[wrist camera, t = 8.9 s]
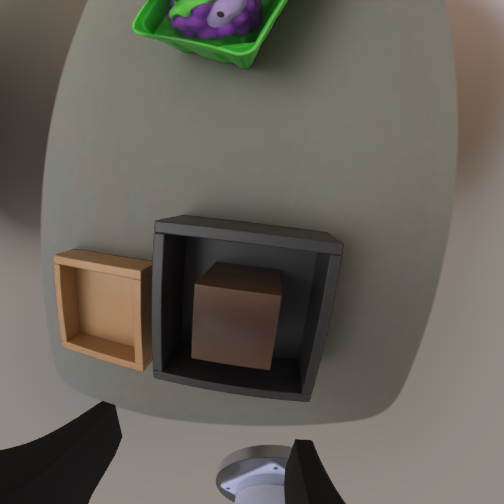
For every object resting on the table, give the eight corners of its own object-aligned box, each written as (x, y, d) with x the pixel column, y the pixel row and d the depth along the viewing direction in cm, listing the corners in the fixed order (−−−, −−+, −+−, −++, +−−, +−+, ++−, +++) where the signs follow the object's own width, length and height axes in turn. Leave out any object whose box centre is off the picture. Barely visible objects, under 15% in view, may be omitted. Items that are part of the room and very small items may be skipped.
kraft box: (156, 355, 21) (143, 372, 18) (79, 334, 21) (62, 346, 19) (156, 261, 19) (141, 270, 17) (73, 248, 20) (53, 254, 17)
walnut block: (272, 329, 19) (270, 370, 14) (211, 320, 19) (191, 358, 14) (280, 269, 18) (282, 295, 13) (215, 261, 18) (194, 283, 14)
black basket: (304, 363, 20) (309, 402, 15) (175, 344, 20) (153, 377, 16) (328, 232, 18) (344, 243, 14) (181, 214, 19) (154, 220, 14)
